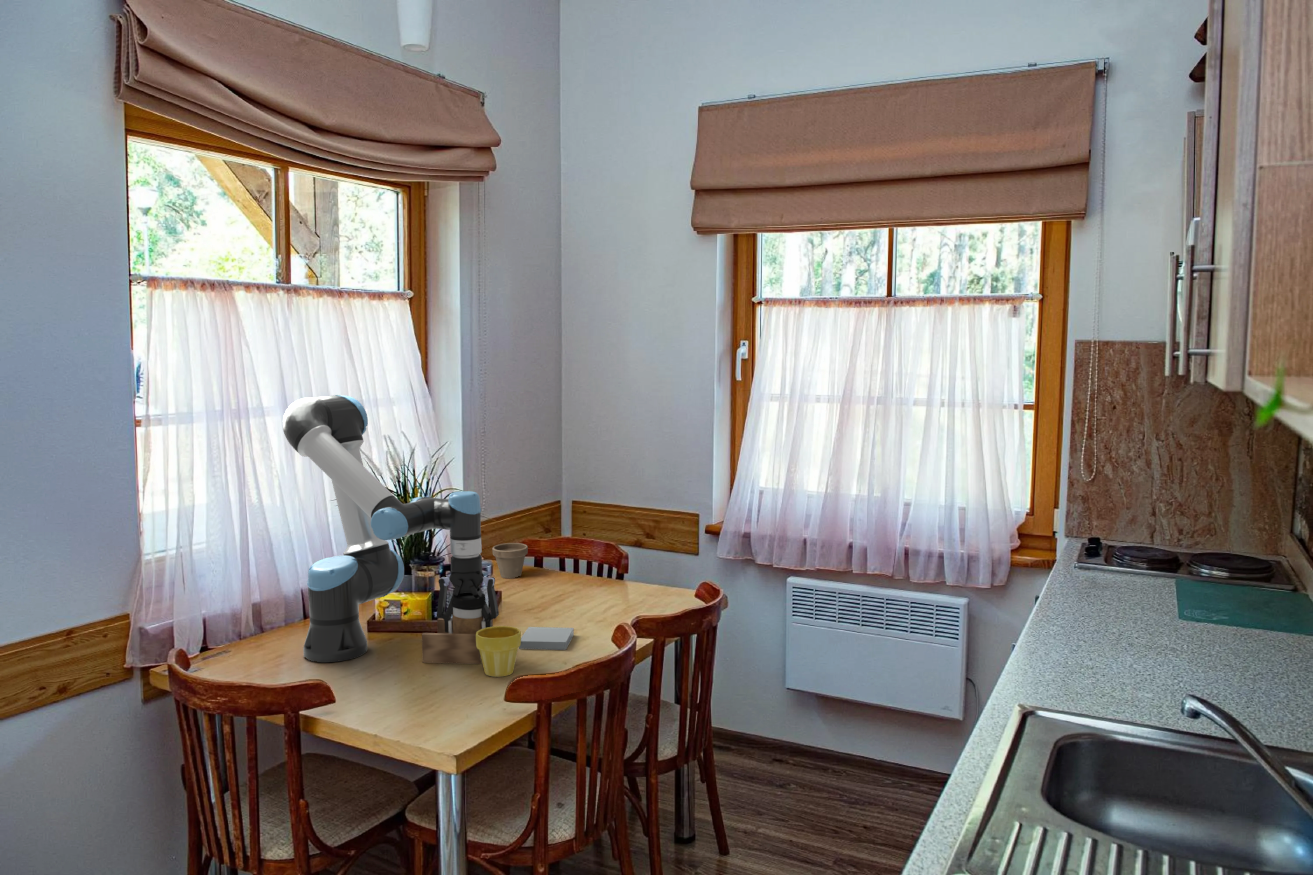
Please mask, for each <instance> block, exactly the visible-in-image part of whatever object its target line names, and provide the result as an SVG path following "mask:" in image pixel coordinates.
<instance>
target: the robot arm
mask: <svg viewBox="0 0 1313 875" xmlns="http://www.w3.org/2000/svg"><path fill="white" fill-rule="evenodd" d="M368 423H369V419H368V413H367V411H366V409H365V407H364V406H363V404H362V403H361V402H360V401H359V400H357V399H356V398H354V397H352V396H350V395H340V394H339V395H338V394H334V395H326V396H315V397H303V398H300V399H297V400H295V401H294V402H291V404H290V405H289V406H288V408H286V410H285V413H284V414H283V418H282V430H283V433H284V436H285V439H286V440H287V442H288V444H290V446H291V447H292V448H293V449H294V451H295V452H296V453H298V454H299V455H300V456H302V457H308V458H309V459H310V460H311V461H312V462H313V463H314V464H315V465H316V466H317V467H318V468H319V469H321V471H322V472H323V473H324V474H325V475H326V476H328V478H329V479H331V484H332V487H333V492H334V496H335V499H336V504H337V508H338V513H339V516H340V520H341V524H342V528H343V533H344V537H345V541H346V548H345V550H344V551H343V553H342V555H335V556H332V557H330V556H329V557H325V558H322V559H320V560H317V561H314V563H313V564H312V565H310V567H309V568H308V572H307V573H308V574H307V581H306V582H307V590H308V593H307V594H308V610H309V611H308V612H309V627H308V630H307V633H306V637H305V640H304V643H303V644H304V645H303V647H302V648H303V649H302V650H303V658H304V657H306V658H307V659H309V660H308V661H310V660H311V662H314V661H317V662H316V663H337V662H343V661H349V660H352V659H355V658H358V657H360V656H363V655H364V654H366V653H367V652H368V640H367V637H366V634H365V631H364V630H363V627H362V624H361V622H360V612H359V611H360V609H359V608H360V605H361V604H364V603H367V602H370V601H374V600H376V599H379V598H385V597H386V596H388V595H390V594H392V593H393V592H395V591H396V590H398V589H399V587H400V586H401V583H402V582H403V580H404V575H405V566H404V562H403V559H402V557H401V556H400V555H399V554H398V552H396V551H395V550H393V549H391V548H390V544H389V541H391V540H398V539H401V538H402V537H406V536H411V535H413V534H418V533H423V532H425V531H429V530H434V529H436V530H449V540H450V541H449V545H450V546H449V548H450V554H451V555H452V556H451V557H450V574H449V576H446V577H445V576H442V577H440V578H439V579H438V581H437V582H438V586H439V593H438V594H439V595H438V603H437V608H436V609H437V610H436V618H437V619H438V618H442V619H444V621H445V632H446V633H451V634H453V619H452V613H453V607H452V606H451V604H452V603H451V602H452V599H453V596H456V598H458V597H459V595H460V593H465V592H467V593H472V594H473V596H474V597H475V598H479V597H482V593H483V592H482V589H481V585H482V584H483V583H484V586H485V587H486V594H487V597H488V598H487V599H488V602H489V603H488V604H489V606H488V604H487V602H486V600H485V602H486V604H485V605H484V606H483V608H482V611H481V612H482V615H483V619H484V620H483V621H482V629H483V628H487V627H492V622H491V620H492V619H493V620H495V619H497V617H498V616H499V615H500V611H499V606H498V602H497V601H498V600H497V594H496V589H495V583H496V578H495V577H494V576H491V577H486V576H485V575H484V574H483V556H482V555H481V553H483V551H482V548H483V546H482V532H481V530H482V527H481V526H482V524H481V522H482V520H481V519H482V507H481V496H480V495H479V493H478V492H476V491H471V490H467V491H465V490H463V491H460V490H459V491H453V492H451V493H450V494H449V495H448V498H447V499H446V498H439V497H438V498H437V497H430V496H417V497H414V498H412V499H411V501H410V502H407V503H403V502H401V501H400V500H399V499H398V498H397V497H396V495H394V494H393V493H391V491H390V490H389V489H388V488H387V487H386V486H385V485H384V484H383V483H382V482H380V480H378V478H376V476H374V475H373V474H372V473H371V472H370V471H369V470H368V469H367V468H366V466H364V462H363V459H362V454H361V449H360V448H361V447H362V445H363V443H364V442H365V441H364V437H363V435H364V434H365V433H366V431H367V426H368V425H369V424H368ZM450 583H451V584H452V586H453V587H454V590H453V592H452V596H451V598H450V601H449V604H448V606H447V608H446V601H447V595H448V586H449V585H450ZM445 610H446V611H445ZM307 659H306V660H307Z"/></svg>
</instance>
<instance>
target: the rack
mask: <svg viewBox="0 0 1313 875" xmlns="http://www.w3.org/2000/svg"><path fill="white" fill-rule="evenodd" d="M483 620H484V618H483ZM493 620H494V619H492V620H491V622H492V627H493V626H494V624H493V623H494V622H493ZM436 623H437V633H435V632H422V634H421V649H422V650H421V651H422V653H421V654H422V655H421V656H422V658H421V660H422V663H424V664H425V663H426V664H429V663H430V664H431V663H432V664H461V665H462V664H463V665H464V664H469V665H470V664H471V665H473V664H474V665H478V664H479V665H480V664H482V659H481V655H480V651H479V649H477V647H476V634H451V633H446V632H445V621H444V619H442V618H438V617H437V620H436Z"/></svg>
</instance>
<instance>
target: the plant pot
mask: <svg viewBox="0 0 1313 875" xmlns="http://www.w3.org/2000/svg"><path fill="white" fill-rule="evenodd" d="M521 637H522V631H521V630H520V629H519V627H518V628H517V627H515V626H508V625H493V627H487V628H483V629H481V630H479V631H477V632H476V647H477V649H479V651H480V655H481V664H482V666H483V667H482V668H483V671H484V674H485V675H486V676H488V677H493V678H502V677H503V678H504V677H506V676H507V677H508V676H509V675H512V674H513V673H514V669H515V664H516V659H517V654H518V650H519V646H520V645H521Z"/></svg>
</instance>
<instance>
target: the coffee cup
mask: <svg viewBox="0 0 1313 875" xmlns="http://www.w3.org/2000/svg"><path fill="white" fill-rule="evenodd" d="M485 601H486V595H485V593H484V592H482V597H479V598H475V597H474V596H473V594H472V593H467V592H465V593H460V595H459V597H458V598H456V596H453V599H452V602H451V603H452V604H451V606H452V607H453V613H452V617H451V618H452V619H453V634H476V632H477V631H479V630H481V629H482V621H483V619H484V617H483V615H482V612H481V611H482V608H483V606H484V605H485V604H487V602H485Z"/></svg>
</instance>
